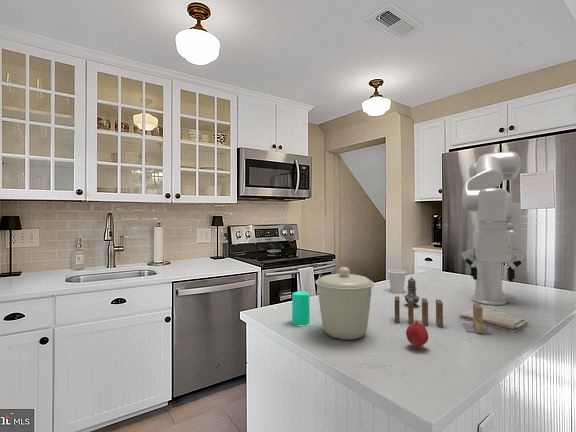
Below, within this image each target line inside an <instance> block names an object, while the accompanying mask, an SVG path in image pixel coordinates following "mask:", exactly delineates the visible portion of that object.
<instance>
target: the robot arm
mask: <svg viewBox="0 0 576 432" xmlns="http://www.w3.org/2000/svg"><path fill="white" fill-rule="evenodd" d="M521 166H522V160H521V157H520V155H519V153H518V152H516V151H501V152H489V153H485V154H482V155H480V156H479V157H478V158H477V160H476V161H475V162H474V163H472V164H471V165H470V166H469V169H468V174H469V179H468V180H467V181H466V182H465V183H464V185H463V188H462V194H461V203H462V207H463V209H464V210H465V211H467V212H476V220H477V222H478V223H477V227H478V228H475V230H474V231H473V233H472V241H473V242H472V243H473V247H472V248H471V249H467V250H465V251H462V252H461V256H462V258H463V260H464V261H465V262H466V263H467V264H468V265H469V266H470V276H471V278H473V280H474V282H475V289H474V290H475V295H471V301H474V303H475V302H476V303H479V304H482V305H483V304H484V305H491V306H503V305H506V304H507V299H508V300H509V299H510V300H516V299H517V296H516V294H512V293H511V294H510V293H505V292H503V266H502V264H505V265H507V266H508V267H507V269H506V270H507V272H506V274H507V275H506V279H507V281H509V282H510V283H513V282H514V280H515V276H516V275H515V274H516V272H515V271H516V269H517V268H518V267H519V266H520V265H521V264H522V262H523V261H524V259H525V258H526V255H525V254H523V253H521V252H518V251H519V250H521V249H522V248H523V243H524V240H523V239H524V235H523V217H522V216H523V214H522V208H521V206H520V205H519V204H518V203H517V202H512V195H511V194H510V192H509V191H508V190H506V189H503V188H499V186H500V185H501V184H502V183H503V181H508V180H509V181H511V180H514V179H516V178H517V176H518V174H519V172H520V170H521ZM469 255H472V257H473V260H471V259H470V258H469V257H468V256H469ZM513 256H516V257H517V259H515V261H513V262H512V260H513Z"/></svg>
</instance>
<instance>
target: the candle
mask: <svg viewBox="0 0 576 432" xmlns="http://www.w3.org/2000/svg"><path fill="white" fill-rule="evenodd" d="M291 302H292V303H291V304H292V305H291V312H292V313H291V314H292V315H291V317H292V318H291V319H292V321H291V322H292V325H293V324H295V325H294V326H296V325H306V326H308V325H307V324H309V325H310V323H311V321H310V320H311V316H310V315H311V313H310V311H311V310H310V293H309V292H308V291H305V290H302V288H300V289H299V291H295V292H292V293H291Z"/></svg>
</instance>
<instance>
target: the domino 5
mask: <svg viewBox="0 0 576 432" xmlns="http://www.w3.org/2000/svg"><path fill="white" fill-rule="evenodd" d="M472 308H473V322H472V324H473V328H474V329H475V331H476V332H477V333H476V334H484V333H483V325H484V324H483V309H484V308H483V306H481V303H478V302H476V303H475V302H473V303H472Z"/></svg>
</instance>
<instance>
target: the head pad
mask: <svg viewBox="0 0 576 432" xmlns="http://www.w3.org/2000/svg"><path fill="white" fill-rule="evenodd" d="M461 323H462V326H463V328H464V329H465V331H466V332H467V333H473V334H474V333H476V334H478V333H477V332H476V331H475V329H474V328H473V323H472V322H471V323H470V322H461ZM482 334H485V335H493V332H492V331H491V329H490V328H489V327H488V326H487V325H484V324H483V333H482Z"/></svg>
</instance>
